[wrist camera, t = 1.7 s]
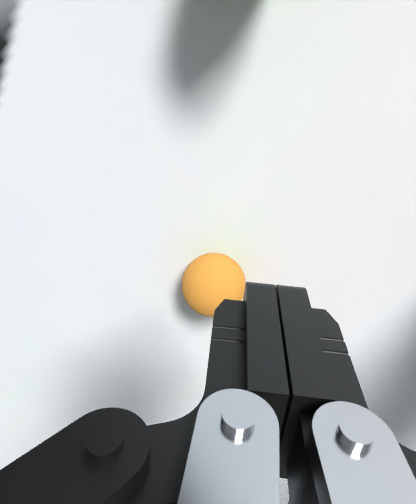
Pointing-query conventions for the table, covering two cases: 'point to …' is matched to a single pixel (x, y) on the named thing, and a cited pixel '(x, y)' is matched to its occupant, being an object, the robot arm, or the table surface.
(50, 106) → the table surface
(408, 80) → the table surface
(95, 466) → the robot arm
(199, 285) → the ball
